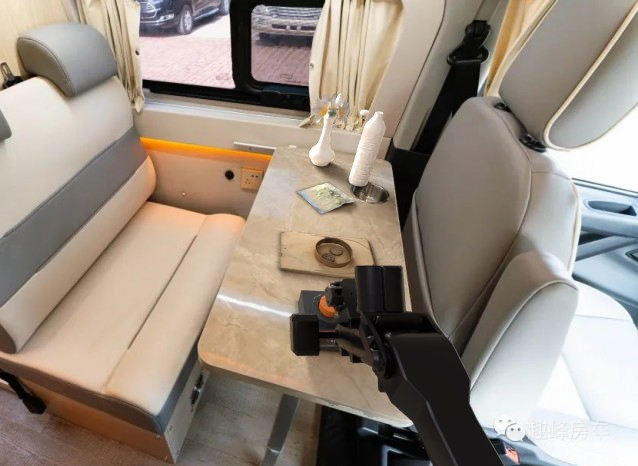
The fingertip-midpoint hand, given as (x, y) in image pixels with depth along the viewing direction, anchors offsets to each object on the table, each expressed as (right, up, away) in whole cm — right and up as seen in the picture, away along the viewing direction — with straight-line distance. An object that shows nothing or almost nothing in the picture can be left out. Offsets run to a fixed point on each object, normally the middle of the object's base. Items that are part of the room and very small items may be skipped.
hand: (333, 326), depth 59 cm
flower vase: (+18, +45, +68) cm, 84 cm away
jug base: (+2, -4, +14) cm, 15 cm away
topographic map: (+14, +29, +51) cm, 60 cm away
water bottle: (+27, +35, +58) cm, 73 cm away
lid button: (+2, +1, +10) cm, 10 cm away
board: (+8, +11, +31) cm, 33 cm away
